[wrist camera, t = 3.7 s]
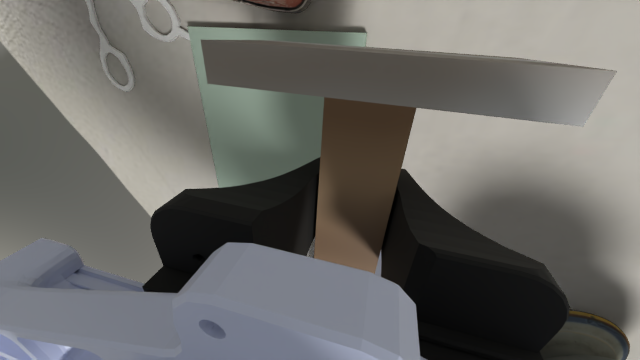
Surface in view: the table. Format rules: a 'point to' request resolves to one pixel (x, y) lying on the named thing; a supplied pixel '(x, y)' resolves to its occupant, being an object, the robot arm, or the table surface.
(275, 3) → the lighter
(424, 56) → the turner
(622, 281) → the table surface
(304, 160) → the tool mat
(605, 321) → the apothecary jar
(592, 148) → the table surface
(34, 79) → the table surface
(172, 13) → the scissors
